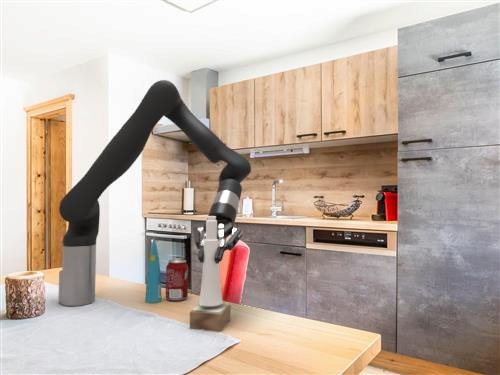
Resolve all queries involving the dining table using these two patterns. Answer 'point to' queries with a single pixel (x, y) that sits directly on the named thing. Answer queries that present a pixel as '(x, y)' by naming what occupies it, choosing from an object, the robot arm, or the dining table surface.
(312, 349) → the dining table surface
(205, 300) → the cosmetic bottle
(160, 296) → the tube
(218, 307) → the pedestal
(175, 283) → the soda can
